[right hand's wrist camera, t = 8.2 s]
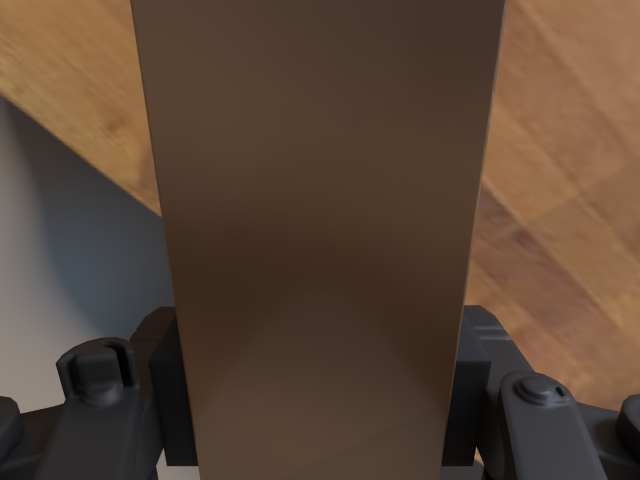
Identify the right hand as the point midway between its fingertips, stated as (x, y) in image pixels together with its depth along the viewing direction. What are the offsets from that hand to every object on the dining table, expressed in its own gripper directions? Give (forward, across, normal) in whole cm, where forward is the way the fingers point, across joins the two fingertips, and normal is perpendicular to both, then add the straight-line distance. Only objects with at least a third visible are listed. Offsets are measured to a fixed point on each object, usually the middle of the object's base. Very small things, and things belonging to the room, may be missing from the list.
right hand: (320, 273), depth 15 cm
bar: (+1, 0, -28) cm, 28 cm away
